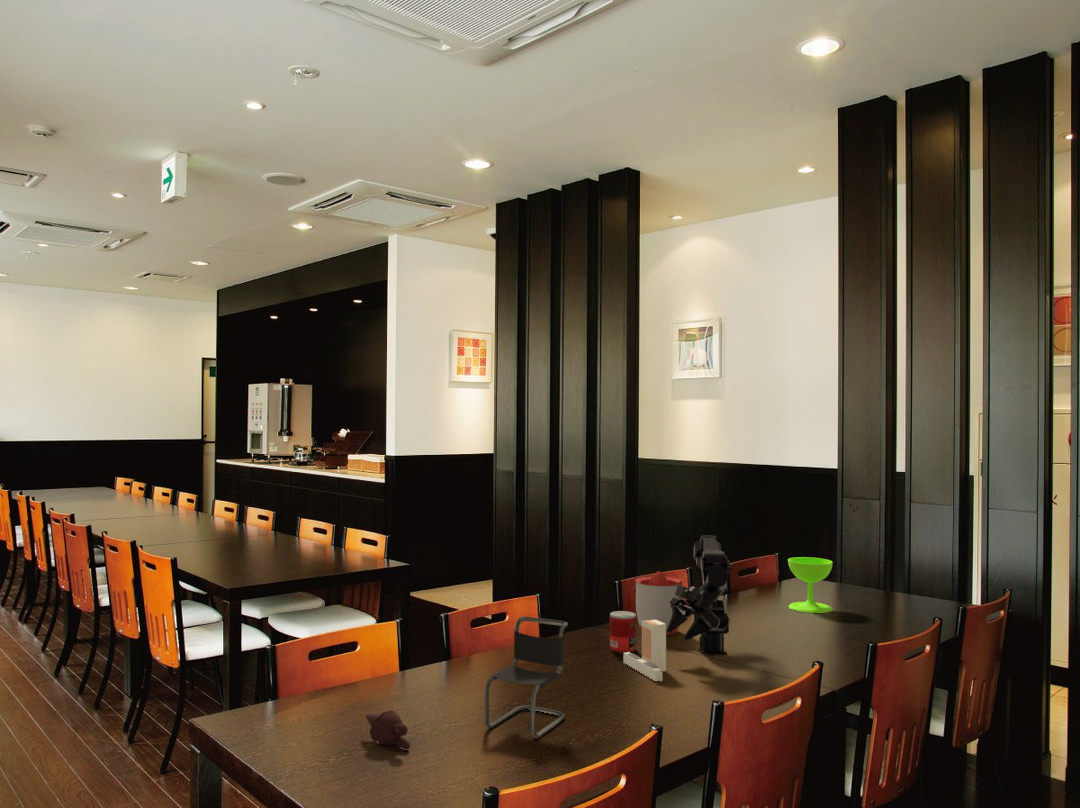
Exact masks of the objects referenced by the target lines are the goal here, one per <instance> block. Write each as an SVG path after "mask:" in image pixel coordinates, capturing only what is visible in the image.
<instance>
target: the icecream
mask: <svg viewBox="0 0 1080 808" xmlns="http://www.w3.org/2000/svg"><path fill="white" fill-rule="evenodd" d="M365 719H366V721H367V722H368V724H369V725H370V727H371V728H370V729H369V734H370V737H371V740H372V741H374V742H375V743H376V741H378V742H379V743H380V744H382V745H385V744H392V745H394V744H395V743H396V745H397V746H398V747H399V746H400V747H402V748H404V749H409V748H411V745H410V743H409V741H408V740H407V739H406V738H404V737H403V736H405V735H407V733H408V727H407V725H406V724H405V723H403V721H402V719H401V717H400V716H399V715H398V713H396V712H395V711H394V710H388V711H382V712H381V713H378V714H375V713H372V714H370V713H368V714H365ZM400 747H399V748H400ZM409 750H410V749H409Z"/></svg>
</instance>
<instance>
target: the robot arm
mask: <svg viewBox="0 0 1080 808" xmlns="http://www.w3.org/2000/svg"><path fill="white" fill-rule="evenodd" d="M693 559H694V560H695V562H696V566H697V567H698V568H699V569H700V570H701V576H702V585H701V586H700V587H699V588H698V587H695V586H694V585H693V586H690V587H686V586H683V585H682V586H681V585H678V587H677V590H676V592H675V595H676V596H680V597H682V599H681V598H678V597H673V598H672V600H671V601H670V604H671V608H672V617H671V620H670V623H669V625H668V628H667V631H668V632H669V633H670V632H672V631H673V630H675V629H676V628H677V627H678V628H679V627H680V626H681V625H682V624H684V623H685V622H687V621H688V620H689V619H688V618H689V617H691V616H693V622H692V623H691V624H690V627H689V628H688V629H687V631H686V633H685V635H684V637H683V639H684V640H685V641H688V640H691V639H693V638H695V637H697V636H699V648H698V647H697V651H698V650H699V652H700V651H702V652H701V653H703V652H704V653H703V654H705V653H706V654H705V655H707V654H708V655H707V656H710V655H711V656H715V655H714V654H719V655H723V654H724V653H727V654H728V651H726V650H725V634H726V635H727V634H728V633H729V632H730V617H729V615H728V612H726V610H725V604H724V601H723V600H722V599H719V598H720V597H721V596H722V594H723V593H724V592H725V590H726V589H727V587H728V586H727V583H728V581H729V574H730V572H731V571H732V568H731V563H730V560H729V559H728V556H726V555H725V552H724V551H722V547H721V542H719V541H718V537H717V536H716V535H701V536H700V539H699V540H697V541H695V542H694V545H693ZM724 655H725V654H724Z"/></svg>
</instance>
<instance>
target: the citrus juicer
mask: <svg viewBox="0 0 1080 808" xmlns="http://www.w3.org/2000/svg"><path fill="white" fill-rule="evenodd" d="M678 585H681V586H683V580H682V579H679V578H677V577H670V576H665V575H664V574H663V573H662V572H660V571H659V570H658V571H657V572H656V573H654V574H653V575H652V576H642V577H638V578H636V579H635V612H636V619H637V621H638V626H639V629H640V631H641V632H642V621H646V620H658V621H660V622H663V623H665V624H666V635H670V636H671V635H675V634H677V631H678V630H679V627H677V628H676V629H675V630H673V631H672V632H670V633H669V632H668V631H667V628H668V625H669V623H670V620H671V617H672V608H671V604H670V601H671V600H672V598H673V597H678V598H681V599H683V598H682V597H680V596H676V595H675V592H676V590H677V587H678Z"/></svg>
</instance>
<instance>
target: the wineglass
mask: <svg viewBox="0 0 1080 808" xmlns="http://www.w3.org/2000/svg"><path fill="white" fill-rule="evenodd" d="M787 563H788V566H789V570H790V572H791V573H792V574H793V575H794V576H795V578H797V579H798V580H800V581H803V582H805V583H807V599H806V601H795V602H791V603H790V604H789V605H788V606H787V607H789V608H790V609H793V610H796V611H801V612H810V613H825V612H830V611H832V610H833V611H834V609H833V608H832V606H830V605H827V604H825V603H820V602H815V600H814V585H813V584H814V583H817V582H818V583H819V582H821V581H823V580H824V579H826V578H827V577H828V576H829V574H831V571H832V568H833V561H832V560H830V559H825V558H821V557H810V556H809V557H806V556H802V557H798V556H797V557H789V558H788V559H787ZM789 608H788V609H789ZM790 609H789V610H790ZM793 610H792V611H793ZM796 611H795V612H796ZM801 612H800V613H801Z"/></svg>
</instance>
